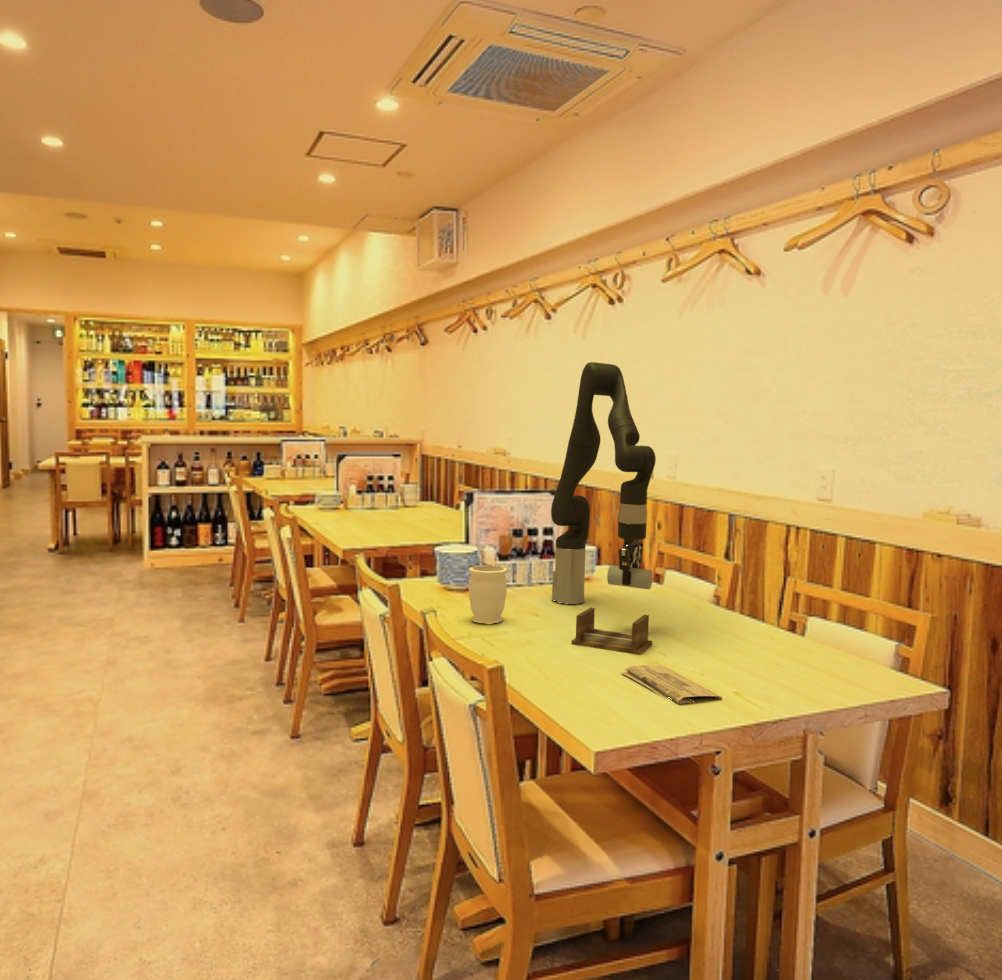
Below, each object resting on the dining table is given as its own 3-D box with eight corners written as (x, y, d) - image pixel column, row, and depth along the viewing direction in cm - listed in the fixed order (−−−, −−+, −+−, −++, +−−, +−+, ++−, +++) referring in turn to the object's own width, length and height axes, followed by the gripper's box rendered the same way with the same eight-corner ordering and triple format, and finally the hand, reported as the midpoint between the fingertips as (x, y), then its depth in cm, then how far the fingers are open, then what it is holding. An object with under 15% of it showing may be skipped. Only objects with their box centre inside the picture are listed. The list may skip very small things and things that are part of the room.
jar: (507, 617, 228) (508, 565, 227) (504, 626, 218) (505, 572, 217) (470, 615, 229) (471, 564, 228) (465, 625, 219) (466, 571, 218)
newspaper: (617, 675, 181) (619, 664, 181) (664, 675, 185) (665, 665, 185) (672, 709, 159) (674, 697, 159) (723, 709, 164) (725, 697, 164)
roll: (606, 586, 215) (607, 567, 214) (613, 582, 219) (613, 563, 219) (646, 591, 210) (647, 572, 209) (652, 587, 214) (653, 568, 214)
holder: (571, 644, 203) (572, 615, 202) (585, 634, 212) (586, 606, 211) (640, 654, 195) (641, 624, 194) (651, 644, 204) (653, 615, 203)
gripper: (627, 516, 221) (624, 576, 223) (610, 522, 208) (607, 586, 210) (653, 518, 217) (651, 579, 219) (638, 524, 205) (635, 589, 206)
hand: (629, 582), depth 214 cm, fingers closed on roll, 5 cm apart
